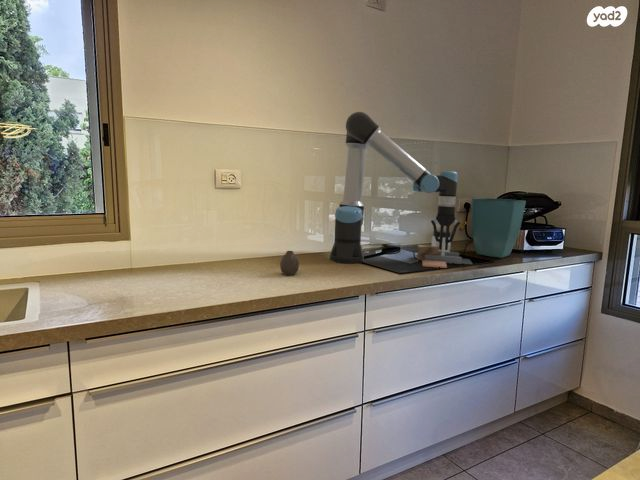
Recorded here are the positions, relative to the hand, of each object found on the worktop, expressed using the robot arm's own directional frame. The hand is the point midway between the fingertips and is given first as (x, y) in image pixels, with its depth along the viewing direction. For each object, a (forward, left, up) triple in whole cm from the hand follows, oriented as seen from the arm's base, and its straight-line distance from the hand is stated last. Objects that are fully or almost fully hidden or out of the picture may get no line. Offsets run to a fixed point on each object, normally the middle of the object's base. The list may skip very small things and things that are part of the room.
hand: (442, 256), depth 193 cm
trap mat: (+10, 0, -2) cm, 11 cm away
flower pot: (+27, +25, -2) cm, 37 cm away
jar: (0, +13, -2) cm, 13 cm away
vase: (-58, -52, -2) cm, 78 cm away
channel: (0, 0, -2) cm, 2 cm away
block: (-7, 0, -2) cm, 7 cm away
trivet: (-4, -12, -2) cm, 13 cm away
